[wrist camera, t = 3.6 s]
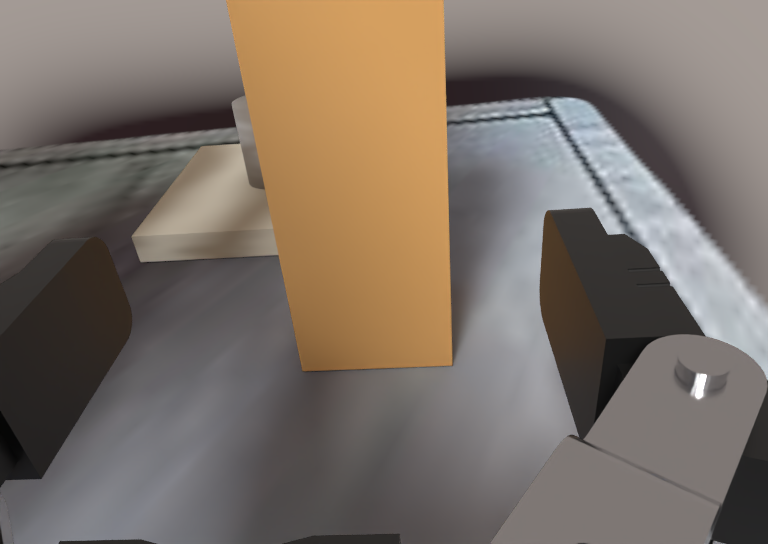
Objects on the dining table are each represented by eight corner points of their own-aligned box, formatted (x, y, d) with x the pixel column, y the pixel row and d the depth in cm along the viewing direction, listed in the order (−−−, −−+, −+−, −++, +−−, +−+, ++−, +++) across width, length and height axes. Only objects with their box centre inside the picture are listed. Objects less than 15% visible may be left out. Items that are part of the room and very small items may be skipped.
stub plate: (140, 262, 30) (100, 150, 27) (206, 167, 40) (183, 77, 37) (376, 249, 30) (364, 132, 26) (384, 156, 40) (376, 62, 36)
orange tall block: (302, 371, 23) (215, -49, 15) (320, 287, 27) (261, -66, 20) (452, 365, 22) (441, -70, 15) (444, 280, 27) (433, -82, 19)
